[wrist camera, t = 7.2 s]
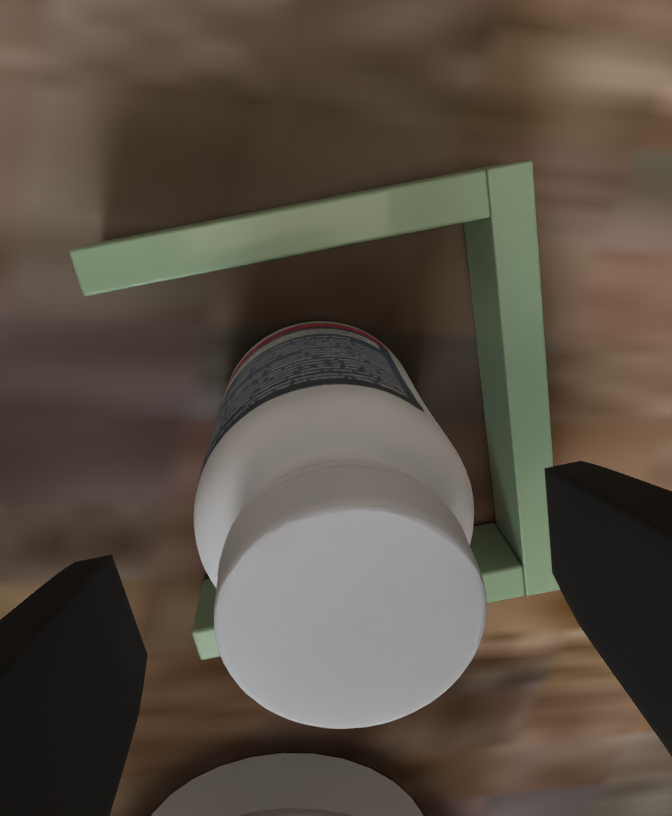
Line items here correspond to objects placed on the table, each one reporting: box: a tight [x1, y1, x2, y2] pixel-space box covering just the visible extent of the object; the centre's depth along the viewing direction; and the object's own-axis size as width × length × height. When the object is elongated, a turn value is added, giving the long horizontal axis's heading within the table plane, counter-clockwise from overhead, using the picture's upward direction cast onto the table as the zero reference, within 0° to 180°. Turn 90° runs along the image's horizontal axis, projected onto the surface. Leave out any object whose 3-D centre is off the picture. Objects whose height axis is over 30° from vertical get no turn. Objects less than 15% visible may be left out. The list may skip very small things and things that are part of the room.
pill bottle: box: [194, 321, 487, 729], centre depth 13 cm, size 5×5×9 cm
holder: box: [70, 161, 560, 660], centre depth 16 cm, size 10×11×2 cm
